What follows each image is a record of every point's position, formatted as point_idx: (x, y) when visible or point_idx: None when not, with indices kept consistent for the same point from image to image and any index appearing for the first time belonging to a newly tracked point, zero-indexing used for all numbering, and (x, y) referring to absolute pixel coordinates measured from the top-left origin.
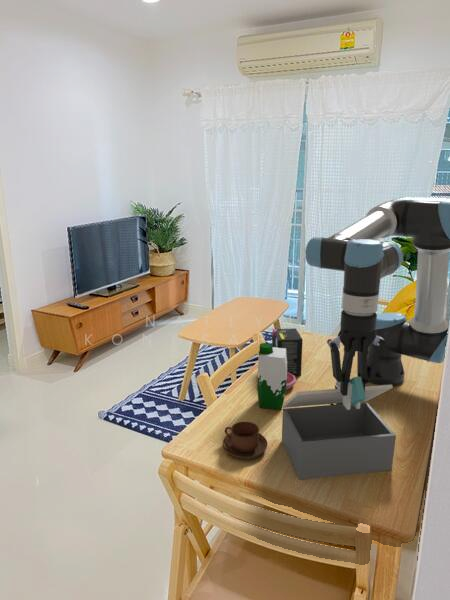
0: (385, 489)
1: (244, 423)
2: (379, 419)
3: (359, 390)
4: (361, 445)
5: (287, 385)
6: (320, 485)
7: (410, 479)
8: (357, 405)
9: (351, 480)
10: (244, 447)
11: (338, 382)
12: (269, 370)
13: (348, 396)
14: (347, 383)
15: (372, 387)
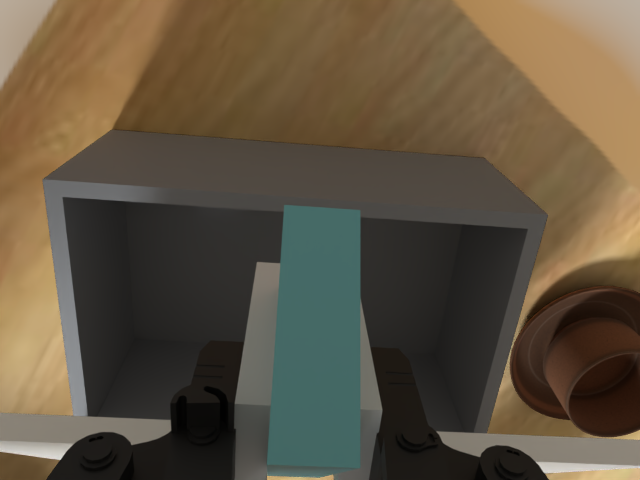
0: (189, 30)
1: (595, 429)
2: (73, 313)
3: (331, 295)
4: (237, 179)
5: None
6: (423, 111)
7: (59, 61)
8: (277, 276)
9: (296, 110)
10: (623, 327)
11: None
12: None
13: (363, 328)
14: (400, 422)
15: (73, 431)
